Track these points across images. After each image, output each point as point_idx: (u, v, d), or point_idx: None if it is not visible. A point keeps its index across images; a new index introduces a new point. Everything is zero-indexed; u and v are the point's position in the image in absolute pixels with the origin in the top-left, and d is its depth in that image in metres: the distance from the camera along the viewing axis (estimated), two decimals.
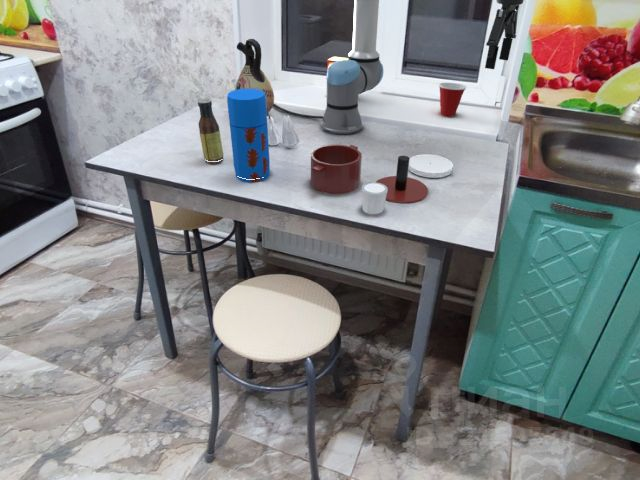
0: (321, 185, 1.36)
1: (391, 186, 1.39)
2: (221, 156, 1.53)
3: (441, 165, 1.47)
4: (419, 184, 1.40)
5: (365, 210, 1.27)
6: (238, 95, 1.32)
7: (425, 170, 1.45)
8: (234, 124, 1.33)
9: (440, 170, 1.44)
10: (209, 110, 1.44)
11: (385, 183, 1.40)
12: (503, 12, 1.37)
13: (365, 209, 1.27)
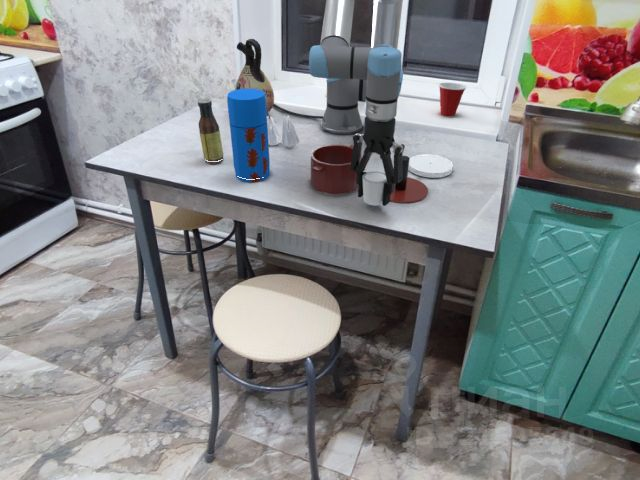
0: (321, 185, 1.36)
1: None
2: (221, 156, 1.53)
3: (441, 165, 1.47)
4: (419, 184, 1.40)
5: (366, 199, 1.26)
6: (238, 95, 1.32)
7: (425, 170, 1.45)
8: (234, 124, 1.33)
9: (440, 170, 1.44)
10: (209, 110, 1.44)
11: None
12: None
13: (366, 198, 1.26)
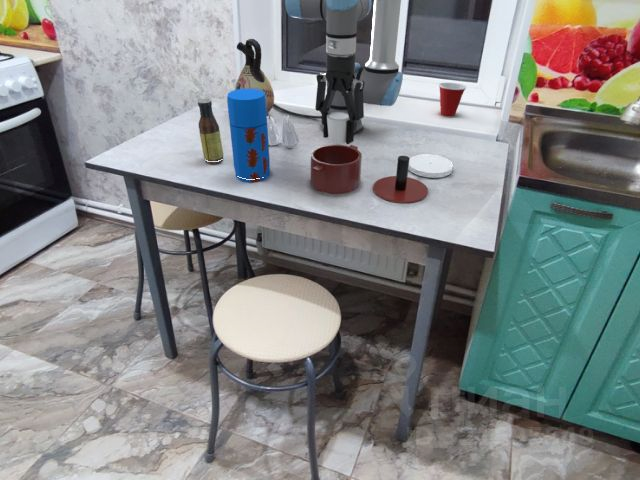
0: (321, 185, 1.36)
1: (391, 186, 1.39)
2: (221, 156, 1.53)
3: (441, 165, 1.47)
4: (419, 184, 1.40)
5: (330, 138, 1.32)
6: (238, 95, 1.32)
7: (425, 169, 1.45)
8: (234, 124, 1.33)
9: (440, 170, 1.44)
10: (209, 110, 1.44)
11: (385, 183, 1.40)
12: None
13: (330, 137, 1.32)
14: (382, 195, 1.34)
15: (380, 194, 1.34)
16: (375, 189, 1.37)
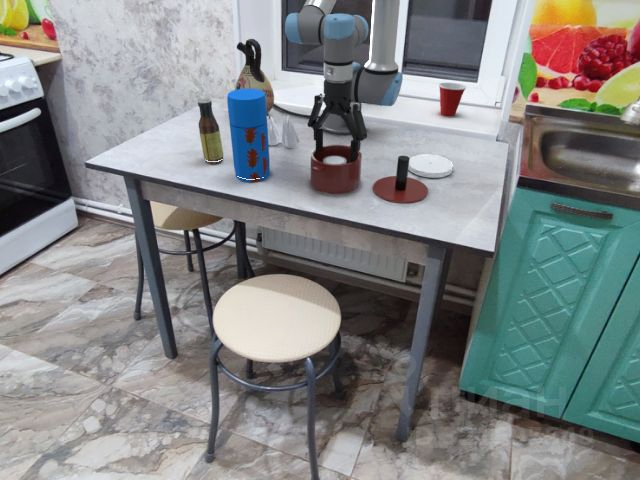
0: (321, 185, 1.36)
1: (391, 186, 1.39)
2: (221, 156, 1.53)
3: (441, 165, 1.47)
4: (419, 184, 1.40)
5: None
6: (238, 95, 1.32)
7: (425, 170, 1.45)
8: (234, 124, 1.33)
9: (440, 170, 1.44)
10: (209, 110, 1.44)
11: (385, 183, 1.40)
12: None
13: None
14: (382, 195, 1.34)
15: (380, 194, 1.34)
16: (375, 189, 1.37)
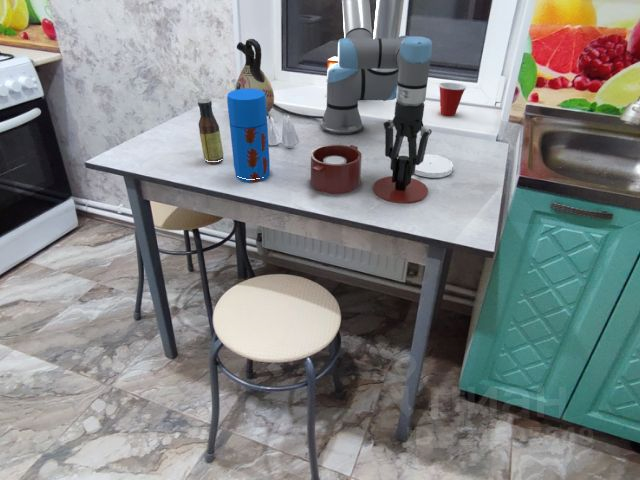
0: (321, 185, 1.36)
1: (391, 186, 1.39)
2: (221, 156, 1.53)
3: (441, 165, 1.47)
4: (419, 184, 1.40)
5: None
6: (238, 95, 1.32)
7: (425, 170, 1.45)
8: (234, 124, 1.33)
9: (440, 170, 1.44)
10: (209, 110, 1.44)
11: (385, 183, 1.40)
12: None
13: None
14: (382, 195, 1.34)
15: (380, 194, 1.34)
16: (375, 189, 1.37)
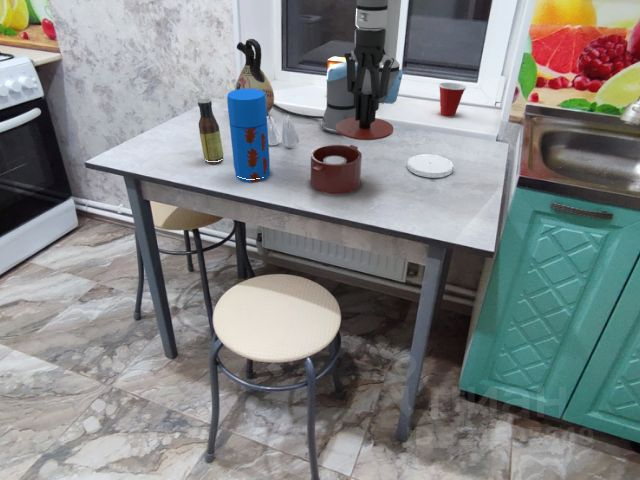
0: (321, 185, 1.36)
1: (355, 125, 1.31)
2: (221, 156, 1.53)
3: (441, 165, 1.47)
4: (385, 123, 1.32)
5: None
6: (238, 95, 1.32)
7: (425, 169, 1.45)
8: (234, 124, 1.33)
9: (440, 170, 1.44)
10: (209, 110, 1.44)
11: (349, 123, 1.33)
12: None
13: None
14: (345, 133, 1.27)
15: (343, 132, 1.27)
16: (338, 128, 1.30)
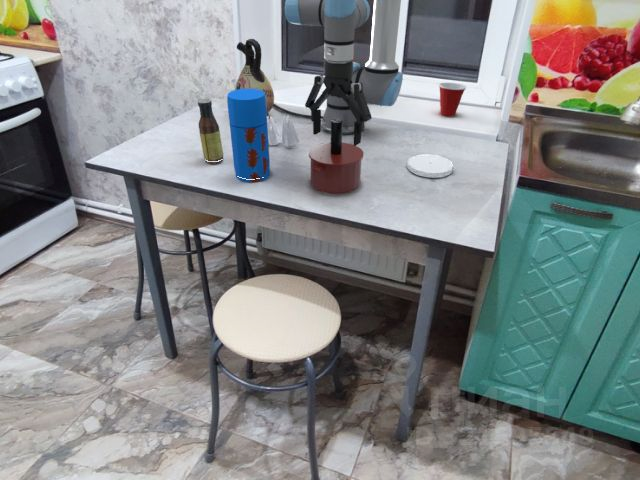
0: (321, 185, 1.36)
1: (327, 151, 1.37)
2: (221, 156, 1.53)
3: (441, 165, 1.47)
4: (356, 149, 1.38)
5: None
6: (238, 95, 1.32)
7: (425, 169, 1.45)
8: (234, 124, 1.33)
9: (440, 170, 1.44)
10: (209, 110, 1.44)
11: (322, 148, 1.39)
12: None
13: None
14: (316, 159, 1.33)
15: (314, 158, 1.33)
16: (310, 153, 1.36)
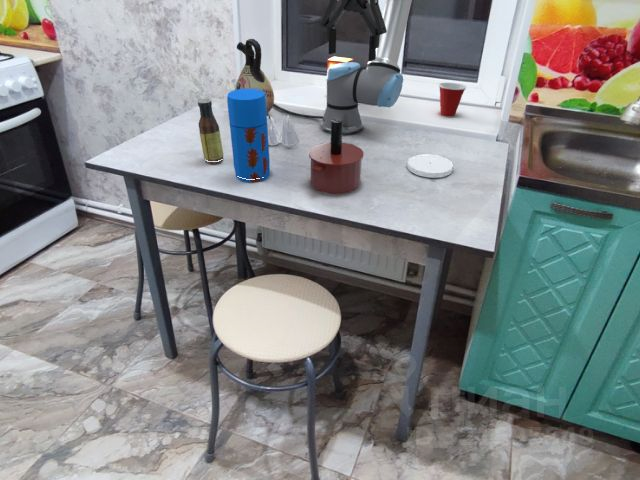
0: (321, 185, 1.36)
1: (327, 151, 1.37)
2: (221, 156, 1.53)
3: (441, 165, 1.47)
4: (356, 149, 1.38)
5: None
6: (238, 95, 1.32)
7: (425, 169, 1.45)
8: (234, 124, 1.33)
9: (440, 170, 1.44)
10: (209, 110, 1.44)
11: (322, 148, 1.39)
12: None
13: None
14: (316, 159, 1.33)
15: (314, 158, 1.33)
16: (310, 153, 1.36)
